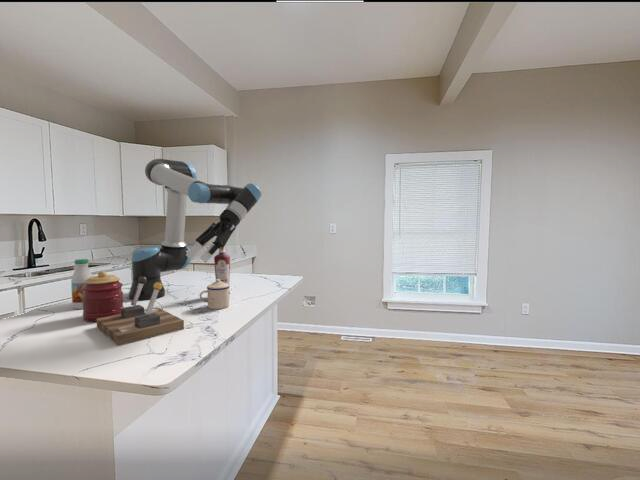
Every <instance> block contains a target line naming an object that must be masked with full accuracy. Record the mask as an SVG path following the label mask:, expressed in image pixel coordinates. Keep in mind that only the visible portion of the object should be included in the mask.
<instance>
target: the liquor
mask: <svg viewBox="0 0 640 480" xmlns="http://www.w3.org/2000/svg"><path fill="white" fill-rule="evenodd" d="M222 243H223V242H222ZM213 258H214V259H213V260H214V261H213V262H214V275H215V281H216V280H217V279H220V280H221V282H224V283H226V284H228V285H229V286H230V273H231V271H230V269H231V256H230V255H229V254H227V253H226V245H225V246H224V247H223V248H222V247H220V248H219V249H218V254H216V255H215V256H214V257H213ZM230 294H231V292H230V291H229V295H230Z"/></svg>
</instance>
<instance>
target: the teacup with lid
mask: <svg viewBox="0 0 640 480" xmlns="http://www.w3.org/2000/svg"><path fill="white" fill-rule="evenodd" d="M206 289H207V290H203V291H201V292H200V293H199V298H200V301H201V302H203V303H207V308H208V309H210V310H223V309H227V308H229V306H230V294H229V292H230V284H229V285H228V284H226V283H224V282H221V280H220V279H217V280H216V279H215V281H214V282H212V283H211V284H208V285H207V287H206ZM204 293H207V299H206V300H204V299H203V297H202V295H203V294H204Z"/></svg>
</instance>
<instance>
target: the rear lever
mask: <svg viewBox="0 0 640 480" xmlns="http://www.w3.org/2000/svg"><path fill="white" fill-rule="evenodd" d="M138 282H139V284H138V287H137V290H136V292H135V295H134V298H133V300H132V299H131V300H132V301H131V304H130V306H136V305H137V303H138V301H139V300H138V298H139V295H140V292H141V290H142V287H143V285H144V284H145V283H146V282H147V278H146V277H144V276H142V277H140V278H139V279H138Z"/></svg>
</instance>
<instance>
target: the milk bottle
mask: <svg viewBox="0 0 640 480" xmlns="http://www.w3.org/2000/svg"><path fill="white" fill-rule="evenodd" d="M74 266H75V268H74V269H75V270H74V272H73V273H72V277H71V285H70V286H71V303H72V304H71V305H72V306H71V307H72V309H75V310H83V299H82V296H83V290H82V289H81V288H82V287H83V286H85V284H86V283H84V281H85V280H87V279H88V278H89V277H93V273H92V272H91V270H90V269H89V268H90V267H89V259H88V258H81V259H80V258H79V259H75V260H74Z"/></svg>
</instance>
